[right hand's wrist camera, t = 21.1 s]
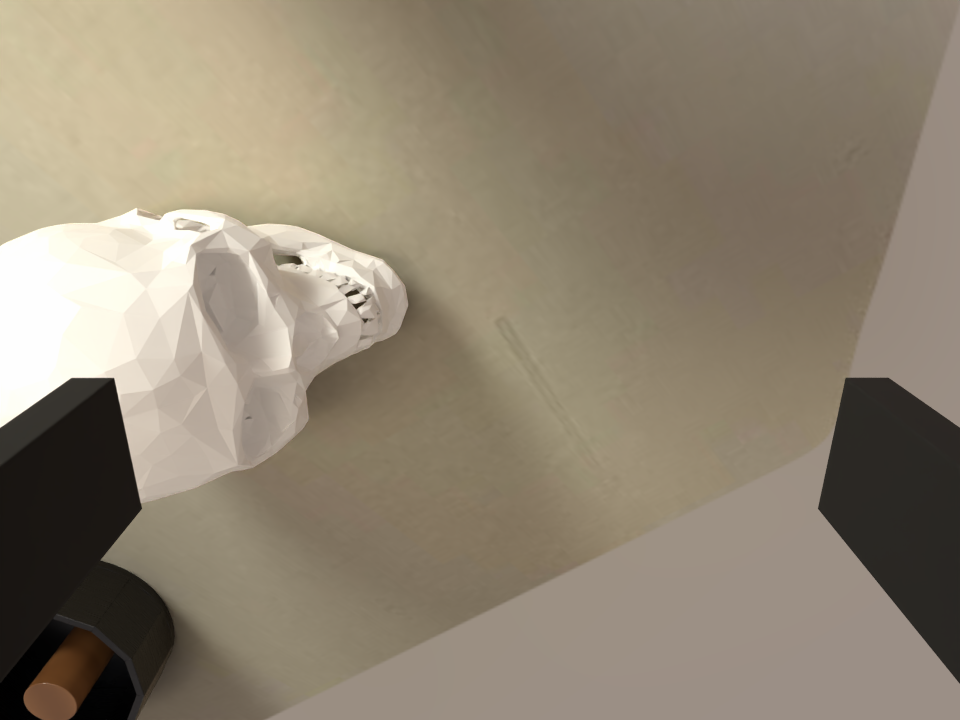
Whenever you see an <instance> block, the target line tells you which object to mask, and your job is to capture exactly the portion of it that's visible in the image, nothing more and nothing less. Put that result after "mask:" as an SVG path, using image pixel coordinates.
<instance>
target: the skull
mask: <svg viewBox="0 0 960 720" xmlns="http://www.w3.org/2000/svg"><path fill="white" fill-rule="evenodd" d="M181 218H183V219H188V220H179V219H181ZM192 220H193V221H192ZM194 221H197V222H202V223H204V224H206V225H207V226H206V225H202V224H199V223H197V222H194ZM273 255H283V256H297V257H299V258H300V259H301V262H302V264H301V265H296V264H294V263H292V264H281V265H280V266H278V265H276V263H275V260H274V258H273ZM346 283H348V285H344V284H346ZM340 286H341V287H340ZM338 287H340V288H339V289H338ZM355 289H356V290H358V291H359V292H360V293H359V294H357V295H353V296H349V297H348V298H347V297H346V296H345V294H346V293H348V292H349V291H354V290H355ZM364 296H365V297H366V298H367V300H366V299H365V297H364ZM364 301H367V302H366V303H364V304H363V305H362V306H360V307H359V308H358V309H355V308H354V306H353V305H352V304H356V303H360V302H364ZM407 308H408V300H407V293H406V287H405V285H404V284H403V282H402V281H401V279H400V278H399V277H398V275H397V274H396V272H395V271H394V270H393V269H392V268H391V267H390V266H389V265H388V264H387V263H386V262H385V261H384V260H383V259H380V258H377V257H374V256H371V255H368V254H365V253H362V252H359V251H356V250H353V249H351V248H348V247H346V246H344V245H342V244H339V243H337V242H335V241H333V240H331V239H328V238H326V237H324V236H322V235H319V234H317V233H314V232H311V231H309V230H306V229H303V228H300V227H298V226H292V225H283V224H261V225H253V226H246V225H244V224H243V223H242V222H241V221H239V220H237V219H234V218H232V217H230V216H228V215H226V214H222V213H218V212H213V211H208V210H186V209H181V210H177V211H172V212H169V213H166V214H165V215H164V216H160V215H157V214H154V213H151V212H148V211H145V210H142V209H139V208H136V209H134V210H132V211H130V212H128V213H126V214H124V215H121V216H118V217H115V218H112V219H108V220H105V221H102V222H99V223H70V224H61V225H55V226H49V227H45V228H42V229H38V230H36V231H33V232H31V233H28V234H26V235H24V236H21V237H19V238H16V239H14V240H11V241H9V242H6V243H5V244H3V245H2V246H0V428H1V427H2V426H3V425H5V424H6V423H8V422H9V421H11V420H12V419H13V418H15V417H16V416H18V415H19V414H21V413H22V412H23V411H25V410H26V409H28V408H29V407H31V406H32V405H33V404H35V403H36V402H38V401H39V400H41V399H42V398H43V397H45V396H46V395H48V394H49V393H51V392H52V391H53V390H55V389H56V388H58V387H59V386H61V385H62V384H63V383H65V382H66V381H68V380H69V379H71V378H114V379H115V384H116V388H117V393H118V398H119V403H120V407H121V412H122V417H123V422H124V426H125V431H126V436H127V440H128V445H129V450H130V455H131V459H132V464H133V469H134V474H135V478H136V483H137V488H138V493H139V497H140V502H141V503H144V502H149V501H153V500H156V499H160V498H163V497H167V496H170V495H173V494H177V493H180V492H183V491H187V490H190V489H194V488H196V487H199V486H201V485H203V484H205V483H207V482H210V481H212V480H214V479H216V478H219V477H221V476H223V475H225V474H227V473H230V472H233V471H240V470H246V469H250V468H254V467H255V466H257V465H258V464H260V463H261V462H263V461H265V460H266V459H268V458H269V457H271V456H272V455H274V454H275V453H277V452H278V451H279V450H281V449H282V448H283V447H284V446H285V445H286V444H287V443H289V442H290V441H291V440H292V439H293V438H294V437H295V436H296V435H297V434H298V433H299V432H300V431H301V430H302V429H303V428H304V427H305V425H306V423H307V422H308V420H309V415H308V406H307V397H306V390H307V388H308V386H309V385H310V383H311V382H312V380H313V379H314V377H315V376H316V375H318V374H319V373H321V372H322V371H324V370H325V369H327V368H328V367H330V366H331V365H333V364H334V363H336V362H338V361H341V360H343V359H345V358H347V357H349V356H351V355H352V354H356V353H358V352H360V351H362V350H365V349H368V348H369V347H370V346H371V345H373V344H374V343H375V342H379V341H383V340H385V339H387V338H389V337H391V336H393V335H395V334H396V333H397V332H398V330H399V329H400V327H401V324H402V321H403V319H404V316H405V313H406V310H407ZM365 318H368V320H367V322H366V323H364V321H363V320H362V319H365Z"/></svg>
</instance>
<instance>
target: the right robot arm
mask: <svg viewBox="0 0 960 720" xmlns="http://www.w3.org/2000/svg"><path fill="white" fill-rule="evenodd" d="M141 509H142V507H141V502H140V497H139V493H138V488H137V483H136V478H135V474H134V469H133V464H132V459H131V455H130V450H129V445H128V440H127V436H126V431H125V426H124V422H123V417H122V412H121V407H120V403H119V398H118V393H117V388H116V384H115V379H114V378H71V379H69V380H68V381H66V382H65V383H63V384H62V385H61V386H59V387H58V388H56V389H55V390H53V391H52V392H51V393H49V394H48V395H46V396H45V397H43V398H42V399H41V400H39V401H38V402H36V403H35V404H33V405H32V406H31V407H29V408H28V409H26V410H25V411H23V412H22V413H21V414H19V415H18V416H16V417H15V418H13V419H12V420H11V421H9V422H8V423H6V424H5V425H3V426H2V427H1V428H0V683H1V682H2V681H3V679H4V678H5V677H6V676H7V675H8V673H9V672H10V671H11V670H12V668H13V667H14V666H15V665H16V663H17V662H18V661H19V660H20V658H21V657H22V656H23V655H24V654H25V652H26V651H27V650H28V649H29V647H30V646H31V645H32V644H33V642H34V641H35V640H36V639H37V638H38V636H39V635H40V634H41V633H42V631H43V630H44V629H45V628H46V626H47V625H48V624H49V623H50V621H51V620H52V619H53V618H54V617H55V615H56V614H57V613H58V612H59V610H60V609H61V608H62V607H63V605H64V604H65V603H66V602H67V601H68V599H69V598H70V597H71V596H72V594H73V593H74V592H75V591H76V589H77V588H78V587H79V586H80V584H81V583H82V582H83V581H84V580H85V578H86V577H87V576H88V575H89V573H90V572H91V571H92V570H93V568H94V567H95V566H96V565H97V564H98V562H99V561H100V560H101V559H102V557H103V556H104V555H105V554H106V552H107V551H108V550H109V549H110V547H111V546H112V545H113V544H114V543H115V541H116V540H117V539H118V538H119V536H120V535H121V534H122V533H123V531H124V530H125V529H126V528H127V527H128V525H129V524H130V523H131V522H132V520H133V519H134V518H135V517H136V515H137V514H138V513H139V512H140V510H141ZM818 509H819V510H820V512H821V513H822V514H823V515H824V517H825V518H826V519H827V520H828V522H829V523H830V524H831V525H832V527H833V528H834V529H835V530H836V531H837V533H838V534H839V535H840V536H841V538H842V539H843V540H844V541H845V543H846V544H847V545H848V546H849V547H850V549H851V550H852V551H853V552H854V554H855V555H856V556H857V557H858V559H859V560H860V561H861V562H862V564H863V565H864V566H865V567H866V568H867V570H868V571H869V572H870V573H871V575H872V576H873V577H874V578H875V580H876V581H877V582H878V583H879V584H880V586H881V587H882V588H883V589H884V591H885V592H886V593H887V594H888V596H889V597H890V598H891V599H892V600H893V602H894V603H895V604H896V605H897V607H898V608H899V609H900V610H901V612H902V613H903V614H904V615H905V617H906V618H907V619H908V620H909V621H910V623H911V624H912V625H913V626H914V628H915V629H916V630H917V631H918V633H919V634H920V635H921V636H922V638H923V639H924V640H925V641H926V642H927V644H928V645H929V646H930V647H931V648H932V650H933V651H934V652H935V653H936V655H937V656H938V657H939V658H940V660H941V661H942V662H943V663H944V665H945V666H946V667H947V668H948V670H949V671H950V672H951V673H952V674H953V676H954V677H955V678H956V679H957V681H958V682H959V683H960V428H959V427H958V426H957V425H955V424H954V423H952V422H951V421H949V420H948V419H947V418H945V417H944V416H942V415H941V414H939V413H938V412H937V411H935V410H934V409H932V408H931V407H929V406H928V405H926V404H925V403H924V402H922V401H921V400H919V399H918V398H916V397H915V396H914V395H912V394H911V393H909V392H908V391H907V390H905V389H904V388H902V387H901V386H899V385H898V384H897V383H895V382H894V381H892V380H891V379H889V378H846V379H845V384H844V388H843V393H842V398H841V403H840V407H839V412H838V417H837V422H836V426H835V431H834V436H833V440H832V445H831V450H830V455H829V459H828V464H827V469H826V474H825V479H824V483H823V488H822V493H821V497H820V502H819V507H818Z"/></svg>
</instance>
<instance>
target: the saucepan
mask: <svg viewBox="0 0 960 720" xmlns="http://www.w3.org/2000/svg"><path fill="white" fill-rule="evenodd" d="M75 626H76V627H79V628H81V629H84V630H87V631H90V632H92V633H93V634H94V635H95V636H97V637H98V638H99V639H100V640H101V641H102V642H103V643H105V644H106V645H107V646H108V647H109V648H110V649H111V650H113V651H114V652H115V653H114V655H113V657H112V658H111V660H110V661H109V663H108V664H107V666H106V667H105V669H104V670H103V672H102V673H101V675H100V677H99V678H98V680H97V681H96V683H95V684H94V686H93V687H92V689H91V690H90V692H89V693H88V695H87V696H86V698H85V700H84V701H83V703H82V704H81V706H80V707H79V709H78V710H77V712H76V713H75V715H74V716H73V717H72V718H70V719H68V720H136V719H137V718H138V716H139V714H140V712H141V710H142V708H143V707H144V705H145V703H146V701H147V699H148V698H149V696H150V694H151V692H152V690H153V688H154V687H155V685H156V683H157V681H158V679H159V677H160V676H161V674H162V672H163V669H164V667H165V664H166V662H167V659H168V658H169V656H170V654H171V651H172V648H173V644H174V627H173V622H172V619H171V616H170V614H169V611H168V609H167V608H166V606H165V604H164V602H163V601H162V600H161V598H160V597H159V596H158V595H157V594H156V592H155V591H154V590H153V589H152V588H151V587H150V586H148V585H147V584H146V583H145V582H144V581H142V580H141V579H139V578H138V577H136V576H135V575H133V574H132V573H130V572H128V571H126V570H124V569H122V568H120V567H117V566H115V565H112V564H109V563H106V562H103V561H99V562H98V564H97V565H96V566H95V567H94V568H93V570H92V571H91V572H90V573H89V575H88V576H87V577H86V578H85V580H84V581H83V582H82V583H81V584H80V586H79V587H78V588H77V589H76V591H75V592H74V593H73V594H72V596H71V597H70V598H69V599H68V601H67V602H66V603H65V604H64V605H63V607H62V608H61V609H60V610H59V612H58V613H57V614H56V615H55V617H54V618H53V619H52V620H51V621H50V623H49V624H48V625H47V626H46V628H45V629H44V630H43V631H42V633H41V634H40V635H39V636H38V638H37V639H36V640H35V641H34V642H33V644H32V645H31V646H30V647H29V649H28V650H27V651H26V652H25V654H24V655H23V656H22V657H21V658H20V660H19V661H18V662H17V663H16V665H15V666H14V667H13V668H12V670H11V671H10V672H9V673H8V675H7V676H6V677H5V678H4V679H3V681H2V682H1V683H0V720H42V719H40V718H38V717H36V716H35V715H33V714H32V713H31V712H30V711H29V710H28V709H27V707H26V706H25V703H24V694H25V691H26V690H27V689H28V687H29V686H30V685H31V683H32V682H33V681H34V679H35V678H36V677H37V675H38V674H39V673H40V671H41V670H42V669H43V667H44V666H45V665H46V664H47V662H48V661H49V660H50V658H51V657H52V656H53V654H54V653H55V652H56V650H57V649H58V648H59V646H60V645H61V644H62V642H63V641H64V640H65V639H66V637H67V636H68V635H69V633H70V632H71V631H72V629H73V628H74V627H75Z"/></svg>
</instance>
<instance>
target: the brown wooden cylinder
mask: <svg viewBox="0 0 960 720" xmlns="http://www.w3.org/2000/svg"><path fill="white" fill-rule="evenodd" d="M114 653H115V652H114V651H113V650H111V649H110V648H109V647H108V646H107V645H106V644H105V643H103V642H102V641H101V640H100V639H99V638H98V637H97V636H95V635H94V634H93V633H92V632H90V631H87V630H84V629H81V628H79V627H76V626H75V627H74V628H73V629H72V631H71V632H70V633H69V635H68V636H67V637H66V639H65V640H64V641H63V642H62V644H61V645H60V646H59V648H58V649H57V650H56V652H55V653H54V654H53V656H52V657H51V658H50V660H49V661H48V662H47V664H46V665H45V666H44V667H43V669H42V670H41V671H40V673H39V674H38V675H37V677H36V678H35V679H34V681H33V682H32V683H31V685H30V686H29V687H28V689H27V690H26V691H25V694H24V703H25V706H26V707H27V709H28V710H29V711H30V712H31V713H32V714H33V715H35V716H36V717H38V718H40V719H42V720H68V719H70V718H72V717H73V716H74V715H75V713H76V712H77V710H78V709H79V707H80V706H81V704H82V703H83V701H84V700H85V698H86V696H87V695H88V693H89V692H90V690H91V689H92V687H93V686H94V684H95V683H96V681H97V680H98V678H99V677H100V675H101V673H102V672H103V670H104V669H105V667H106V666H107V664H108V663H109V661H110V660H111V658H112V657H113V655H114Z"/></svg>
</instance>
